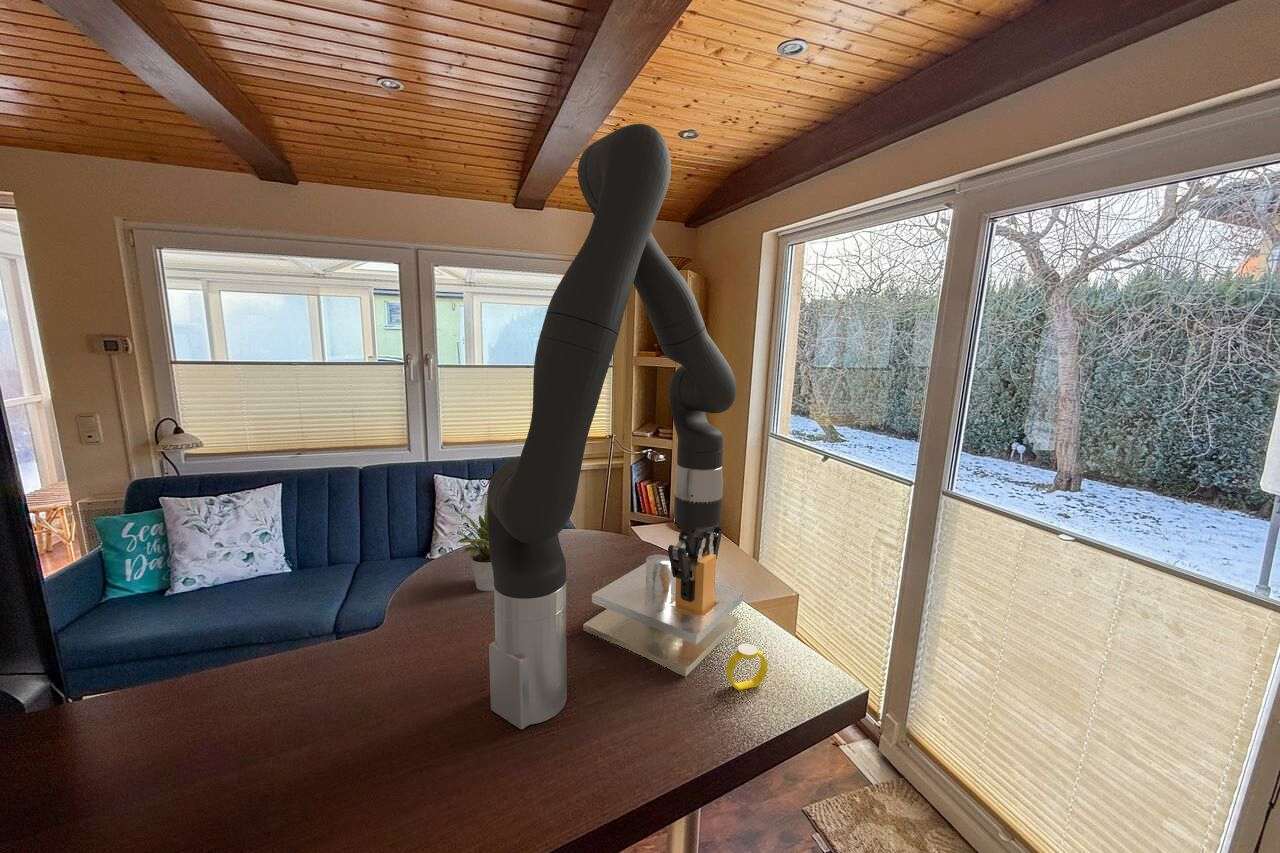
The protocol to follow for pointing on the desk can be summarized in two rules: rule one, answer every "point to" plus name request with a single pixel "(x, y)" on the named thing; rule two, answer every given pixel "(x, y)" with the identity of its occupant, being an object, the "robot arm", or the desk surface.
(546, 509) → the robot arm
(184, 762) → the desk surface
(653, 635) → the two-tier square platform
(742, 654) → the watch
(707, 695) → the desk surface
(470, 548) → the house plant
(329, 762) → the desk surface
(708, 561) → the orange rectangular prism
